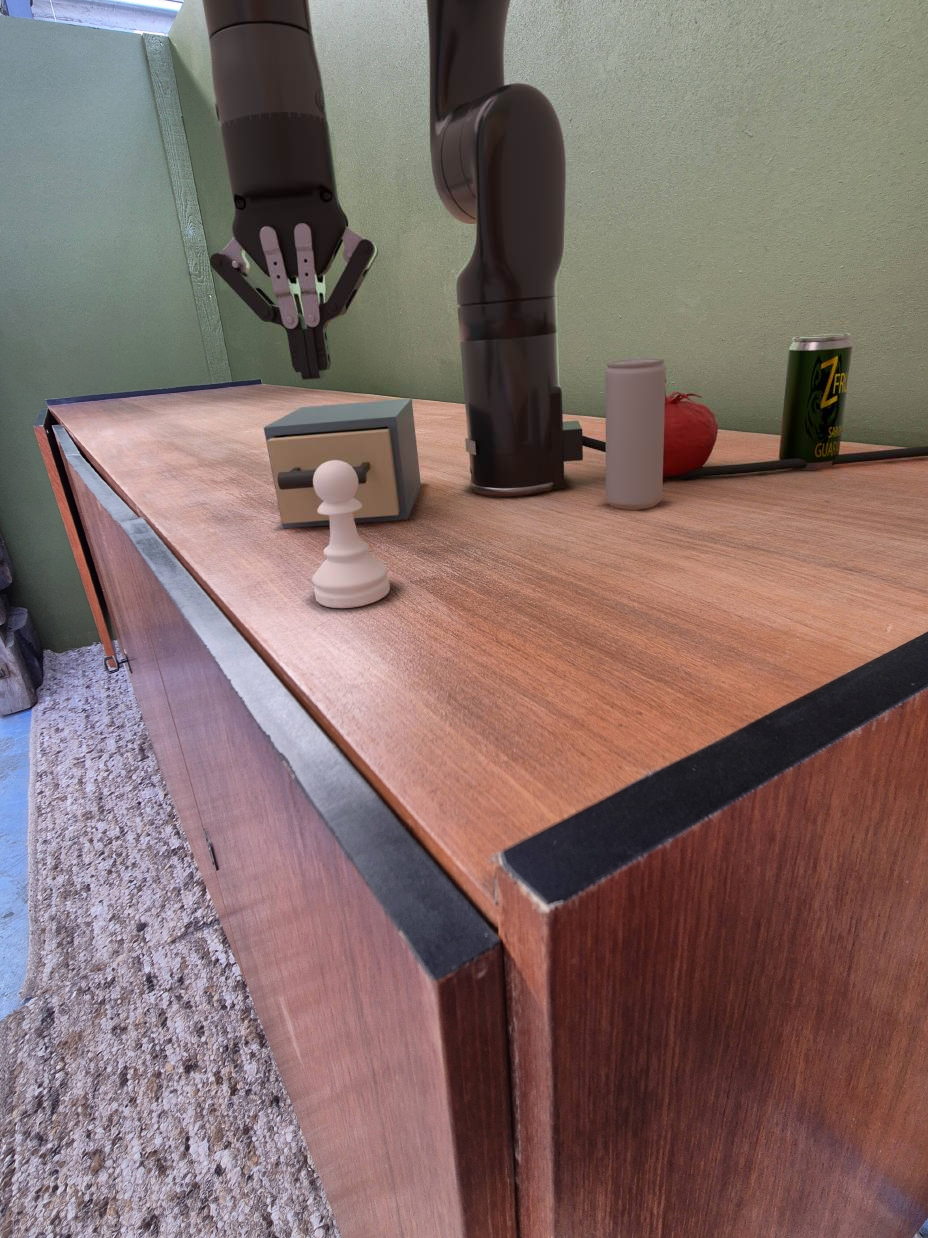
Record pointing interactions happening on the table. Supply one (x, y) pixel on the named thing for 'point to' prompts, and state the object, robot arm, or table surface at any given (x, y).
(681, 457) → the red round piece
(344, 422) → the cabinet
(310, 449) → the drawer
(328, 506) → the chess pawn
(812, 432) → the green soda can
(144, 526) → the table surface
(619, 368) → the beverage can
